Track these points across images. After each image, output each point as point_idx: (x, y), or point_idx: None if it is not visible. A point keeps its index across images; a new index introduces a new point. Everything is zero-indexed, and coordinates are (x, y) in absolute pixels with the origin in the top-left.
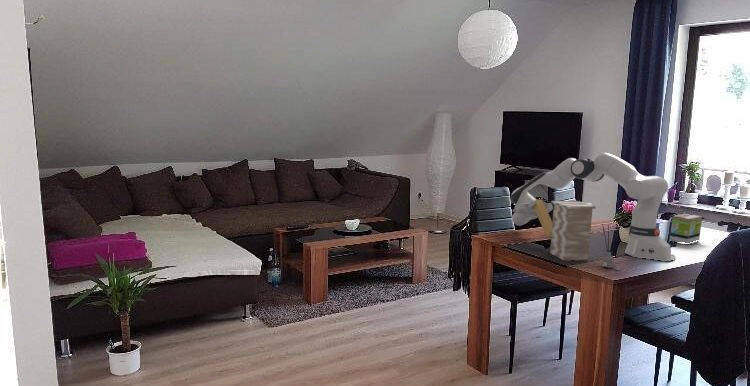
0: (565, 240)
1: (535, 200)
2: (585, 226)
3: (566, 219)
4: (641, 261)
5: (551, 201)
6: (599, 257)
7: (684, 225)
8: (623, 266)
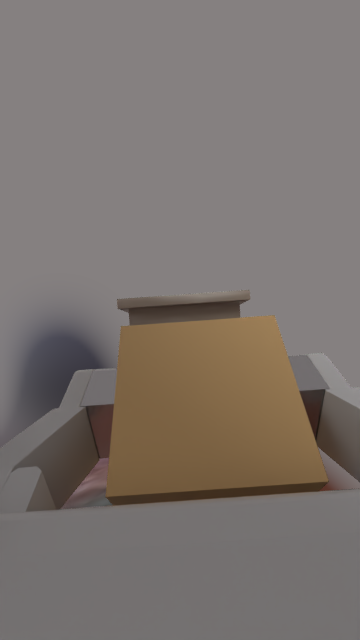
0: None
1: (275, 331)
2: None
3: None
4: None
5: (248, 292)
6: (90, 501)
7: None
8: (103, 458)
